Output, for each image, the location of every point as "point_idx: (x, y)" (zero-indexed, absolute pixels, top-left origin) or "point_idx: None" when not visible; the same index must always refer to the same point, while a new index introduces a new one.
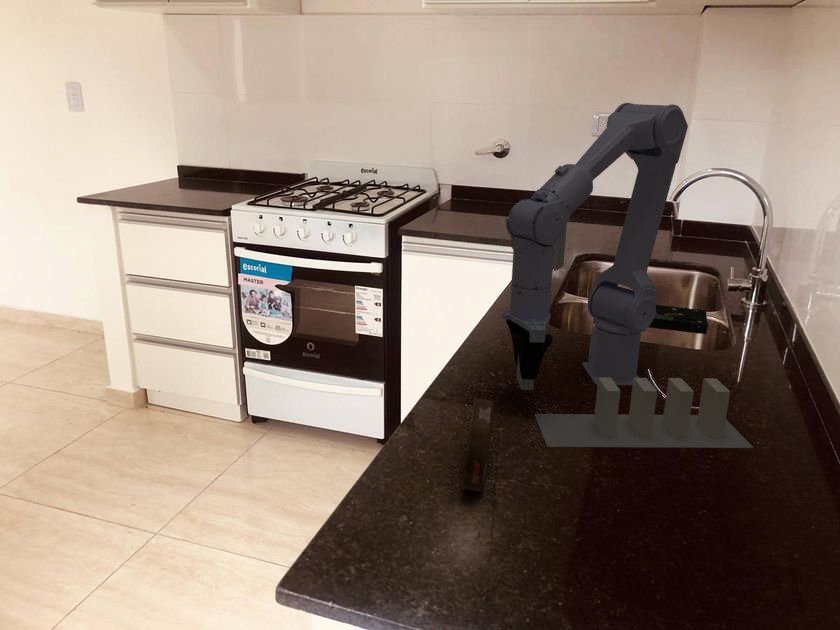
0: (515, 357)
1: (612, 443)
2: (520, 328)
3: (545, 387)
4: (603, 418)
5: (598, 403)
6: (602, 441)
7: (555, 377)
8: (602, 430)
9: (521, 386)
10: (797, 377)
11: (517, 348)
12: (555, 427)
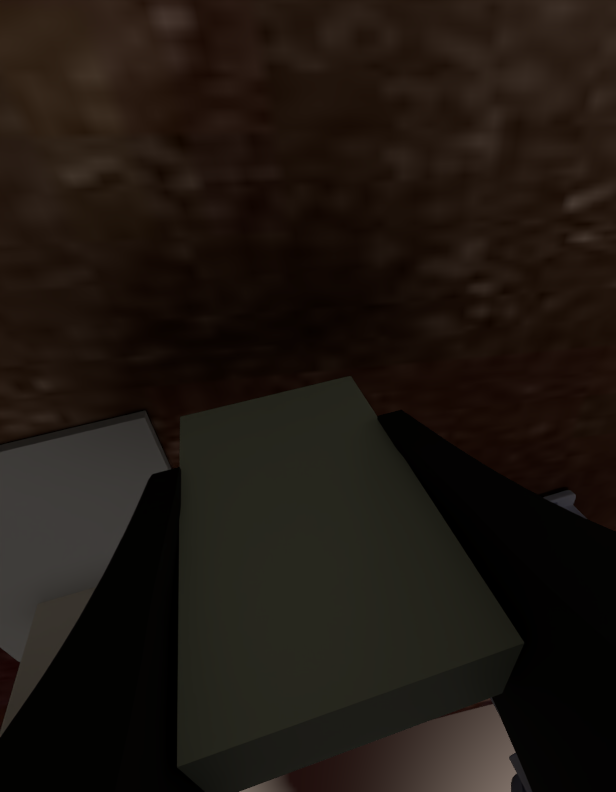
0: (405, 444)
1: (5, 627)
2: (587, 728)
3: (426, 417)
4: (25, 670)
5: None
6: (4, 609)
7: (502, 435)
8: (34, 625)
9: (181, 428)
10: (445, 715)
11: (62, 745)
12: (42, 495)
